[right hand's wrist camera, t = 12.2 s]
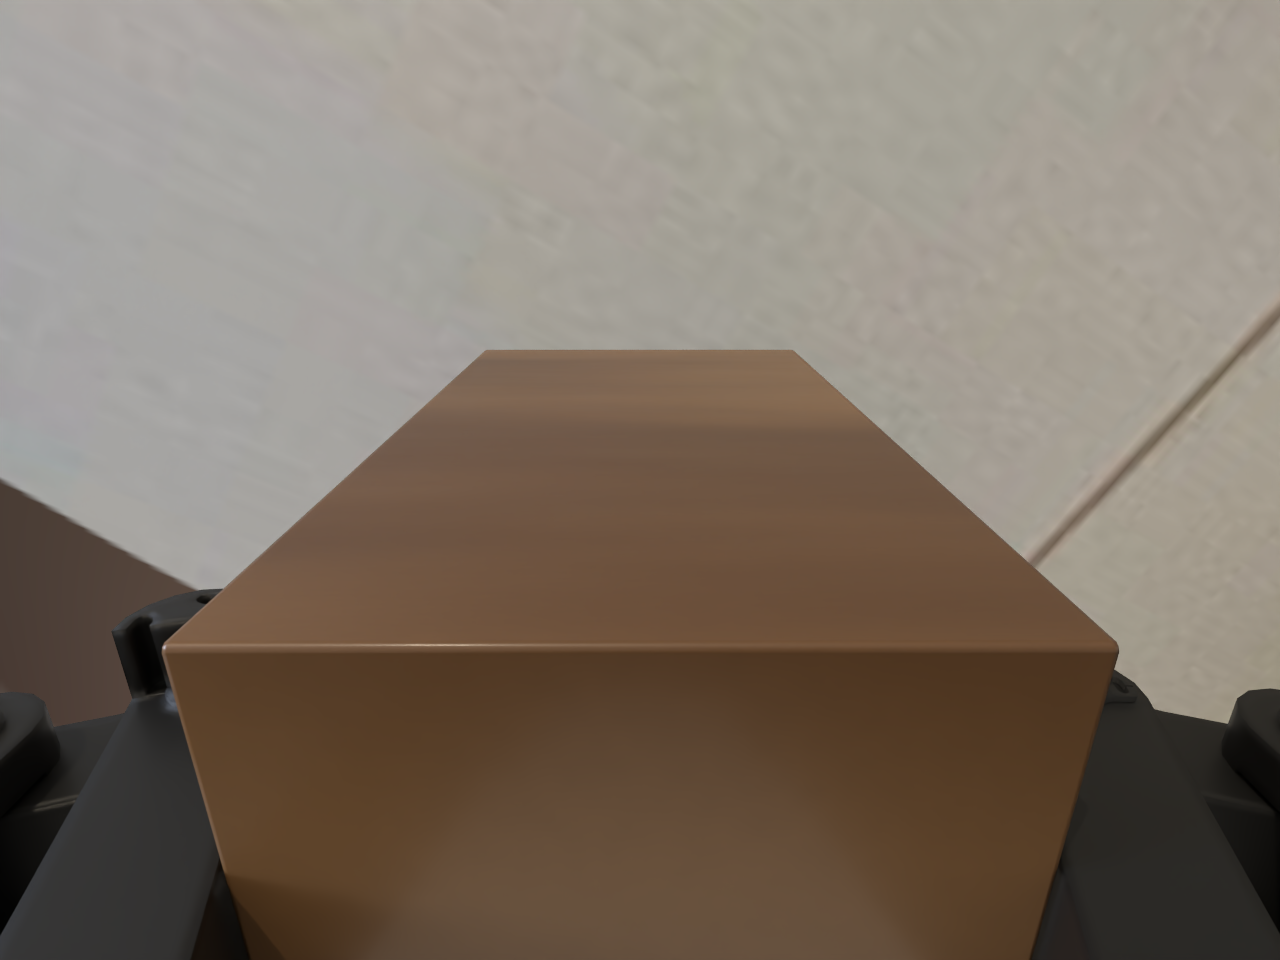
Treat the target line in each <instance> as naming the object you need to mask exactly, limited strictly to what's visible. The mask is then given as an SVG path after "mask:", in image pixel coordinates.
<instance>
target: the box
mask: <svg viewBox="0 0 1280 960" xmlns="http://www.w3.org/2000/svg"><path fill="white" fill-rule="evenodd" d="M1118 654H1119V648H1118V644H1117V642H1116V641H1115V640H1114V639H1112V638H1111V637H1110V636H1109V635H1108V634H1107V633H1106V632H1105V631H1104V630H1103V629H1101V628H1100V627H1099V626H1098V625H1097V624H1096V623H1095V622H1094V621H1093V620H1091V619H1090V618H1089V617H1088V616H1087V615H1086V614H1085V613H1084V612H1083V611H1081V610H1080V609H1079V608H1078V607H1077V606H1076V605H1075V604H1074V603H1073V602H1071V601H1070V600H1069V599H1068V598H1067V597H1066V596H1065V595H1064V594H1063V593H1062V592H1060V591H1059V590H1058V589H1057V588H1056V587H1055V586H1054V585H1053V584H1052V583H1050V582H1049V581H1048V580H1047V579H1046V578H1045V577H1044V576H1043V575H1042V574H1040V573H1039V572H1038V571H1037V570H1036V569H1035V568H1034V567H1033V566H1032V565H1030V564H1029V563H1028V562H1027V561H1026V560H1025V559H1024V558H1023V557H1022V556H1021V555H1019V554H1018V553H1017V552H1016V551H1015V550H1014V549H1013V548H1012V547H1011V546H1009V545H1008V544H1007V543H1006V542H1005V541H1004V540H1003V539H1002V538H1001V537H999V536H998V535H997V534H996V533H995V532H994V531H993V530H992V529H991V528H989V527H988V526H987V525H986V524H985V523H984V522H983V521H982V520H981V519H980V518H978V517H977V516H976V515H975V514H974V513H973V512H972V511H971V510H970V509H968V508H967V507H966V506H965V505H964V504H963V503H962V502H961V501H960V500H958V499H957V498H956V497H955V496H954V495H953V494H952V493H951V492H950V491H948V490H947V489H946V488H945V487H944V486H943V485H942V484H941V483H940V482H939V481H937V480H936V479H935V478H934V477H933V476H932V475H931V474H930V473H929V472H927V471H926V470H925V469H924V468H923V467H922V466H921V465H920V464H919V463H917V462H916V461H915V460H914V459H913V458H912V457H911V456H910V455H909V454H907V453H906V452H905V451H904V450H903V449H902V448H901V447H900V446H899V445H898V444H896V443H895V442H894V441H893V440H892V439H891V438H890V437H889V436H888V435H886V434H885V433H884V432H883V431H882V430H881V429H880V428H879V427H878V426H876V425H875V424H874V423H873V422H872V421H871V420H870V419H869V418H868V417H866V416H865V415H864V414H863V413H862V412H861V411H860V410H859V409H858V408H857V407H855V406H854V405H853V404H852V403H851V402H850V401H849V400H848V399H847V398H845V397H844V396H843V395H842V394H841V393H840V392H839V391H838V390H837V389H835V388H834V387H833V386H832V385H831V384H830V383H829V382H828V381H827V380H825V379H824V378H823V377H822V376H821V375H820V374H819V373H818V372H817V371H816V370H814V369H813V368H812V367H811V366H810V365H809V364H808V363H807V362H806V361H804V360H803V359H802V358H801V357H800V356H799V355H798V354H797V353H796V352H794V351H793V350H486V351H484V352H483V353H482V354H481V355H480V356H479V357H478V358H477V359H476V360H475V361H473V362H472V363H471V364H470V365H469V366H468V367H467V368H466V369H465V370H464V371H462V372H461V373H460V374H459V375H458V376H457V377H456V378H455V379H454V380H453V381H451V382H450V383H449V384H448V385H447V386H446V387H445V388H444V389H443V390H442V391H440V392H439V393H438V394H437V395H436V396H435V397H434V398H433V399H432V400H431V401H429V402H428V403H427V404H426V405H425V406H424V407H423V408H422V409H421V410H420V411H418V412H417V413H416V414H415V415H414V416H413V417H412V418H411V419H410V420H409V421H407V422H406V423H405V424H404V425H403V426H402V427H401V428H400V429H399V430H398V431H396V432H395V433H394V434H393V435H392V436H391V437H390V438H389V439H388V440H387V441H385V442H384V443H383V444H382V445H381V446H380V447H379V448H378V449H377V450H376V451H374V452H373V453H372V454H371V455H370V456H369V457H368V458H367V459H366V460H365V461H363V462H362V463H361V464H360V465H359V466H358V467H357V468H356V469H355V470H354V471H352V472H351V473H350V474H349V475H348V476H347V477H346V478H345V479H344V480H343V481H342V482H340V483H339V484H338V485H337V486H336V487H335V488H334V489H333V490H332V491H331V492H329V493H328V494H327V495H326V496H325V497H324V498H323V499H322V500H321V501H320V502H318V503H317V504H316V505H315V506H314V507H313V508H312V509H311V510H310V511H309V512H307V513H306V514H305V515H304V516H303V517H302V518H301V519H300V520H299V521H298V522H296V523H295V524H294V525H293V526H292V527H291V528H290V529H289V530H288V531H287V532H285V533H284V534H283V535H282V536H281V537H280V538H279V539H278V540H277V541H276V542H274V543H273V544H272V545H271V546H270V547H269V548H268V549H267V550H266V551H265V552H263V553H262V554H261V555H260V556H259V557H258V558H257V559H256V560H255V561H254V562H252V563H251V564H250V565H249V566H248V567H247V568H246V569H245V570H244V571H243V572H241V573H240V574H239V575H238V576H237V577H236V578H235V579H234V580H233V581H232V582H230V583H229V584H228V585H227V586H226V587H225V588H224V589H223V590H222V591H221V592H219V593H218V594H217V595H216V596H215V597H214V598H213V599H212V600H211V601H210V602H208V603H207V604H206V605H205V606H204V607H203V608H202V609H201V610H200V611H199V612H197V613H196V614H195V615H194V616H193V617H192V618H191V619H190V620H189V621H188V622H186V623H185V624H184V625H183V626H182V627H181V628H180V629H179V630H178V631H177V632H175V633H174V634H173V635H172V636H171V637H170V638H169V639H168V640H167V641H166V642H164V644H163V647H162V656H163V659H164V663H165V666H166V670H167V673H168V677H169V680H170V684H171V688H172V691H173V695H174V698H175V702H176V705H177V709H178V712H179V716H180V719H181V723H182V726H183V730H184V733H185V737H186V740H187V744H188V747H189V751H190V754H191V758H192V761H193V765H194V768H195V772H196V775H197V779H198V783H199V786H200V790H201V793H202V797H203V800H204V804H205V807H206V811H207V814H208V818H209V821H210V825H211V828H212V832H213V835H214V839H215V842H216V846H217V849H218V853H219V856H220V860H221V863H222V867H223V870H224V874H225V877H226V881H227V885H228V888H229V892H230V895H231V899H232V902H233V906H234V909H235V913H236V916H237V920H238V923H239V927H240V930H241V934H242V937H243V941H244V944H245V948H246V951H247V955H248V958H249V960H1031V959H1032V956H1033V952H1034V949H1035V945H1036V942H1037V938H1038V935H1039V931H1040V928H1041V924H1042V921H1043V917H1044V914H1045V910H1046V907H1047V903H1048V900H1049V896H1050V893H1051V889H1052V886H1053V882H1054V879H1055V875H1056V871H1057V868H1058V864H1059V861H1060V857H1061V854H1062V850H1063V847H1064V843H1065V840H1066V836H1067V833H1068V829H1069V826H1070V822H1071V819H1072V815H1073V812H1074V808H1075V805H1076V801H1077V798H1078V794H1079V791H1080V787H1081V784H1082V780H1083V777H1084V773H1085V770H1086V766H1087V763H1088V759H1089V756H1090V752H1091V749H1092V745H1093V742H1094V738H1095V735H1096V731H1097V728H1098V724H1099V721H1100V717H1101V714H1102V710H1103V707H1104V703H1105V700H1106V696H1107V692H1108V689H1109V685H1110V682H1111V678H1112V675H1113V671H1114V668H1115V664H1116V661H1117V657H1118Z"/></svg>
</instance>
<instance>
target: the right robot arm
mask: <svg viewBox="0 0 1280 960" xmlns="http://www.w3.org/2000/svg"><path fill="white" fill-rule="evenodd" d="M222 590H223V589H208V590H199V591H194V592H189V593H185V594H180V595H175V596H173V597H170V598H167V599H164V600H161V601H158V602H156V603H153V604H150V605H148V606H146V607H144V608H142V609H140V610H139V611H137V612H135V613H133V614H131V615H130V616H128V617H126V618H125V619H124V620H123V621H122V622H121V623H120V624H118V625H117V626H116V627H115V628H114V629H113V630H112V634H113V638H114V641H115V644H116V647H117V650H118V654H119V657H120V660H121V664H122V667H123V670H124V673H125V676H126V680H127V683H128V686H129V689H130V692H131V696H132V701H131V703H130V704H129V706H128V708H127V710H126V711H125V713H123V714H119V715H114V716H109V717H104V718H99V719H93V720H88V721H83V722H78V723H73V724H68V725H62V726H57V727H54V726H53V724H52V721H51V718H50V716H49V713H48V710H47V707H46V704H45V702H44V701H43V700H41V699H40V698H38V697H37V696H35V695H34V694H28V693H18V692H8V693H0V960H249V958H248V955H247V951H246V948H245V944H244V941H243V937H242V934H241V930H240V927H239V923H238V920H237V916H236V913H235V909H234V906H233V902H232V899H231V895H230V892H229V888H228V885H227V881H226V877H225V874H224V870H223V867H222V863H221V860H220V856H219V853H218V849H217V846H216V842H215V839H214V835H213V832H212V828H211V825H210V821H209V818H208V814H207V811H206V807H205V804H204V800H203V797H202V793H201V790H200V786H199V783H198V779H197V775H196V772H195V768H194V765H193V761H192V758H191V754H190V751H189V747H188V744H187V740H186V737H185V733H184V730H183V726H182V723H181V719H180V716H179V712H178V709H177V705H176V702H175V698H174V695H173V691H172V688H171V684H170V680H169V677H168V673H167V670H166V666H165V663H164V659H163V656H162V647H163V644H164V642H166V641H167V640H168V639H169V638H170V637H171V636H172V635H173V634H174V633H175V632H177V631H178V630H179V629H180V628H181V627H182V626H183V625H184V624H185V623H186V622H188V621H189V620H190V619H191V618H192V617H193V616H194V615H195V614H196V613H197V612H199V611H200V610H201V609H202V608H203V607H204V606H205V605H206V604H207V603H208V602H210V601H211V600H212V599H213V598H214V597H215V596H216V595H217V594H218V593H219V592H221V591H222ZM1031 960H1280V690H1277V689H1260V690H1250V691H1247V692H1246V693H1245V694H1243V695H1242V696H1240V697H1239V698H1237V701H1236V704H1235V706H1234V709H1233V712H1232V715H1231V717H1230V720H1229V723H1228V724H1225V723H1220V722H1215V721H1210V720H1205V719H1199V718H1194V717H1189V716H1184V715H1179V714H1173V713H1168V712H1163V711H1159V710H1155V709H1154V708H1153V707H1152V705H1151V703H1150V701H1149V699H1148V698H1147V697H1146V696H1145V694H1144V693H1143V692H1142V691H1141V690H1140V689H1139V688H1138V686H1137V685H1136V684H1135V683H1134V682H1132V681H1131V680H1129V679H1128V678H1126V677H1125V676H1123V675H1122V674H1120V673H1119V672H1117V671H1116V670H1114V671H1113V675H1112V678H1111V682H1110V685H1109V689H1108V692H1107V696H1106V700H1105V703H1104V707H1103V710H1102V714H1101V717H1100V721H1099V724H1098V728H1097V731H1096V735H1095V738H1094V742H1093V745H1092V749H1091V752H1090V756H1089V759H1088V763H1087V766H1086V770H1085V773H1084V777H1083V780H1082V784H1081V787H1080V791H1079V794H1078V798H1077V801H1076V805H1075V808H1074V812H1073V815H1072V819H1071V822H1070V826H1069V829H1068V833H1067V836H1066V840H1065V843H1064V847H1063V850H1062V854H1061V857H1060V861H1059V864H1058V868H1057V871H1056V875H1055V879H1054V882H1053V886H1052V889H1051V893H1050V896H1049V900H1048V903H1047V907H1046V910H1045V914H1044V917H1043V921H1042V924H1041V928H1040V931H1039V935H1038V938H1037V942H1036V945H1035V949H1034V952H1033V956H1032V959H1031Z"/></svg>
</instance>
